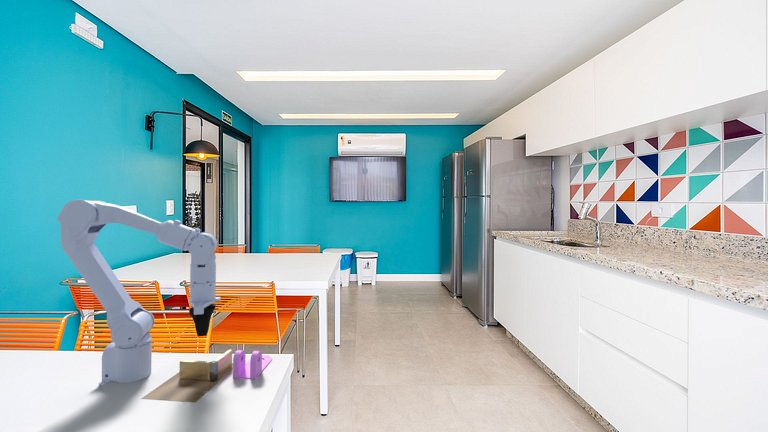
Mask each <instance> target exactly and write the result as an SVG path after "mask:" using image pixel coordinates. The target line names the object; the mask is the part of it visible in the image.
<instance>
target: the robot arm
mask: <svg viewBox="0 0 768 432" xmlns="http://www.w3.org/2000/svg"><path fill="white" fill-rule="evenodd" d="M57 221H58V223H59V224H60V244H61V248H62V250H63V251H64V253H65V254H66V256H67V257H68V258H69V260H70V261H71V264H73V266H74V267H75V268H76V270H77V272H78V273H79V275H80V276H81V277H82V279H83V280H84V282H85V283H86V284H87V286H88V287H89V289H90V290H91V291H92V293H93V295H95V297H96V299H97V300H98V303H100V304H101V305H100V306H102V307H103V309H104V311H105V312H106V325H107V326H108V328H109V330H110V339H111V341H112V342H110V343H109V344H108V345H106V347H105V348H104V349H103V352H102V356H101V381H100V382H99V383H98V386H104V385H105V384H107V383H109V382H111V381H113V382H117V383H120V384H121V383H124V384H125V383H133V382H138V381H140V380H143V379H145V378H146V379H147V377H149V376H150V375H151V374H152V358H153V357H152V345H153V344H152V342H153V341H152V340H153V339H152V336H151V334H150V331H151V330H153V327H154V326H155V316H154V314H153V313H151V312H150V311H149V310H146V309H145V308H144V307H143V306H142V305H141V303H140V302H138V301H136V300H134V299H132V298H131V296H130V294H129V293H128V292H127V290H126V289H125V286H123V284H122V282H121V281H120V280H119V278H118V277H117V275H116V274H115V273H114V271H113V269H112V268H111V266H110V265H109V264H108V262H107V260H106V259H105V257H104V256H103V255H102V252H101V251H100V250H99V249H98V247H97V246H96V244H95V242H96V239H97V238H98V235H99V234H100V232H101V231H102V230H103V229H104V227H106V225H108V224H109V225H110V224H120V225H123V226H126V227H130V228H133V229H136V230H139V231H143V232H146V233H149V234H152V235H154V236H155V237H156V239H157V241H158V242H159V243H162V244H164V245H167V246H169V247H173V248H175V249H178V250H181V251H185V252H186V251H188V253H189V255H190V256H191V257H190V270H189V275H190V276H189V286H190V287H189V300H188V303H189V305H190V306H191V307H190V308H189V309H188V311H189V312H188V313H189V314H190V317H191V318H192V321H193V323H194V327H195V332H196V335H197V337H206V336H208V332H209V330H210V323H211V319H212V315H213V313H214V311H215V308H216V307H217V304H215V303H216V302H221V296H216V287H217V286H216V284H217V282H216V281H217V280H216V279H217V263H216V252H215V251H216V250H217V249H218V248H217V247H218V239H217V238H216V237H215V236H214V235H213V234H211V233H210V232H209V231H203V232H201V229H200V228H198V227H196V228H192V227H189V226H187V225H184V224H181V223H182V221H181V220H178V219H174V220H171V219H170V220H166V221H163V222H160V221H158V220H156V219H153V218H150V217H148V216H146V215H144V214H142V213H139V212H136V211H134V210H132V209H129V208H126V207H124V206H121V205H118V204H115V203H114V204H113V203H109V202H108V203H107V202H105V201H103V200H100V199H96V200H95V199H94V200H85V199H73V200H71V201H68V202H67V203H65V204H64V205H63V207H62V209H61V211H60V212H59V214H58V217H57Z"/></svg>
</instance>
